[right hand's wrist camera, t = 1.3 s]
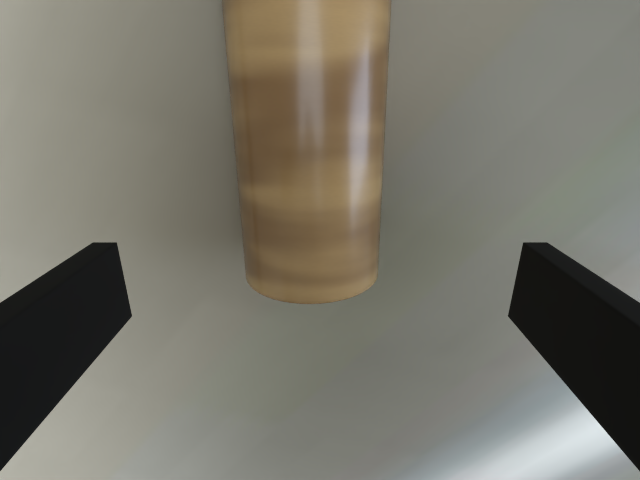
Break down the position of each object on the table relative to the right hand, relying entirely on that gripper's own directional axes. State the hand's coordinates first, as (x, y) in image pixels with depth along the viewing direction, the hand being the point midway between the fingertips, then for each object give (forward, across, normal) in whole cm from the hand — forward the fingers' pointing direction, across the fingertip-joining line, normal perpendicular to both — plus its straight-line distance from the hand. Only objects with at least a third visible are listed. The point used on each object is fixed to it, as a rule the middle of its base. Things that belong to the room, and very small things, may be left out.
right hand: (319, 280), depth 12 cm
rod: (+13, +1, -7) cm, 15 cm away
